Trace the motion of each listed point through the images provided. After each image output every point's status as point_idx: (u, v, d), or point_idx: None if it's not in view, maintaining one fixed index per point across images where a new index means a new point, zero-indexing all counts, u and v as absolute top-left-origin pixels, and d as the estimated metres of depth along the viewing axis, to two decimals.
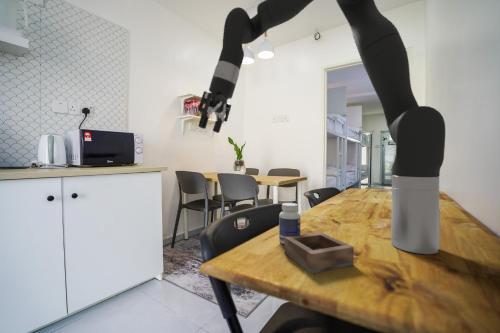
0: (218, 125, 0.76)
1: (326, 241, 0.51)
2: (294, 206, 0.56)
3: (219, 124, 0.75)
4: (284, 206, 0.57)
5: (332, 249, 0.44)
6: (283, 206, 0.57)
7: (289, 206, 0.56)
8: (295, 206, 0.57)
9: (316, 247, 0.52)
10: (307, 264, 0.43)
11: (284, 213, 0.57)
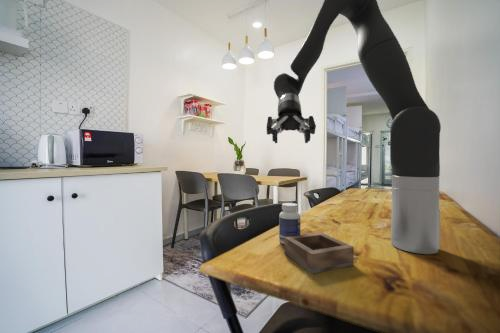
0: (305, 134, 0.64)
1: (326, 241, 0.51)
2: (294, 206, 0.56)
3: (305, 132, 0.64)
4: (284, 206, 0.57)
5: (332, 249, 0.44)
6: (283, 206, 0.57)
7: (289, 206, 0.56)
8: (295, 206, 0.57)
9: (316, 247, 0.52)
10: (307, 264, 0.43)
11: (284, 213, 0.57)
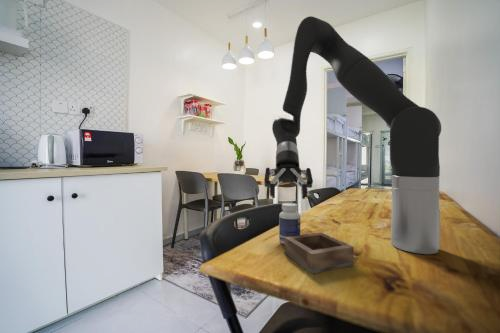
0: (302, 189, 0.65)
1: (326, 241, 0.51)
2: (294, 206, 0.56)
3: (302, 187, 0.65)
4: (284, 206, 0.57)
5: (332, 249, 0.44)
6: (283, 206, 0.57)
7: (289, 206, 0.56)
8: (295, 206, 0.57)
9: (316, 247, 0.52)
10: (307, 264, 0.43)
11: (284, 213, 0.57)
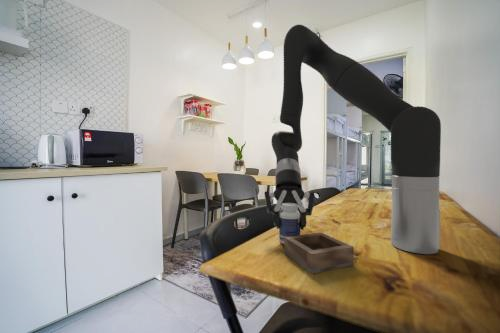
0: (300, 218, 0.57)
1: (326, 241, 0.51)
2: (294, 206, 0.56)
3: (300, 216, 0.57)
4: (284, 206, 0.57)
5: (332, 249, 0.44)
6: (283, 206, 0.57)
7: (289, 206, 0.56)
8: (295, 206, 0.57)
9: (316, 247, 0.52)
10: (307, 264, 0.43)
11: (284, 213, 0.57)
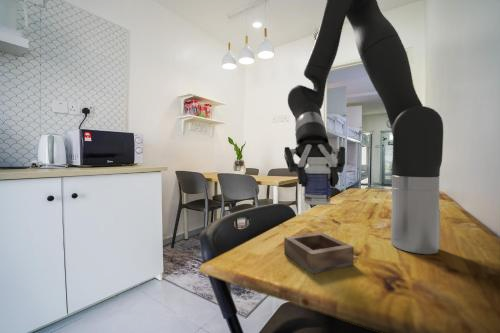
0: None
1: (326, 241, 0.51)
2: (324, 158, 0.46)
3: None
4: (311, 159, 0.47)
5: (332, 249, 0.44)
6: (310, 159, 0.47)
7: (317, 158, 0.46)
8: (325, 158, 0.46)
9: (316, 247, 0.52)
10: (307, 264, 0.43)
11: (311, 167, 0.47)
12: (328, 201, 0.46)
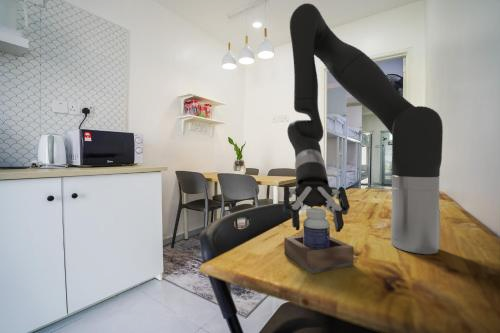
0: (335, 218, 0.47)
1: None
2: (322, 213, 0.46)
3: (335, 216, 0.47)
4: (310, 212, 0.47)
5: (332, 249, 0.44)
6: (308, 212, 0.47)
7: (316, 212, 0.46)
8: (323, 212, 0.46)
9: None
10: (307, 264, 0.43)
11: (310, 221, 0.47)
12: None
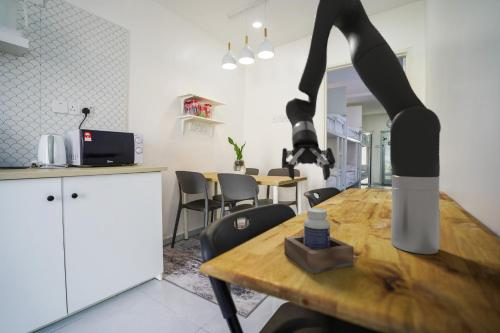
0: (323, 170, 0.60)
1: None
2: (323, 213, 0.46)
3: (323, 168, 0.60)
4: (311, 212, 0.47)
5: (332, 249, 0.44)
6: (309, 212, 0.47)
7: (317, 213, 0.46)
8: (324, 212, 0.46)
9: None
10: (307, 264, 0.43)
11: (311, 221, 0.47)
12: None
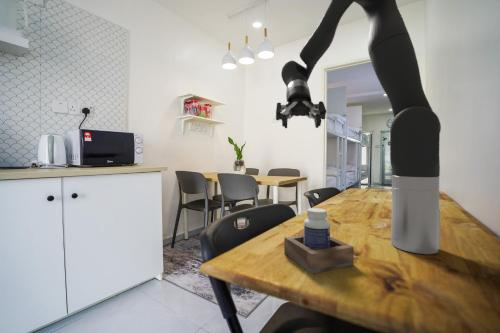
0: (315, 118, 0.63)
1: None
2: (323, 213, 0.46)
3: (315, 117, 0.63)
4: (311, 212, 0.47)
5: (332, 249, 0.44)
6: (309, 212, 0.47)
7: (317, 212, 0.46)
8: (324, 212, 0.46)
9: None
10: (307, 264, 0.43)
11: (311, 221, 0.47)
12: None
